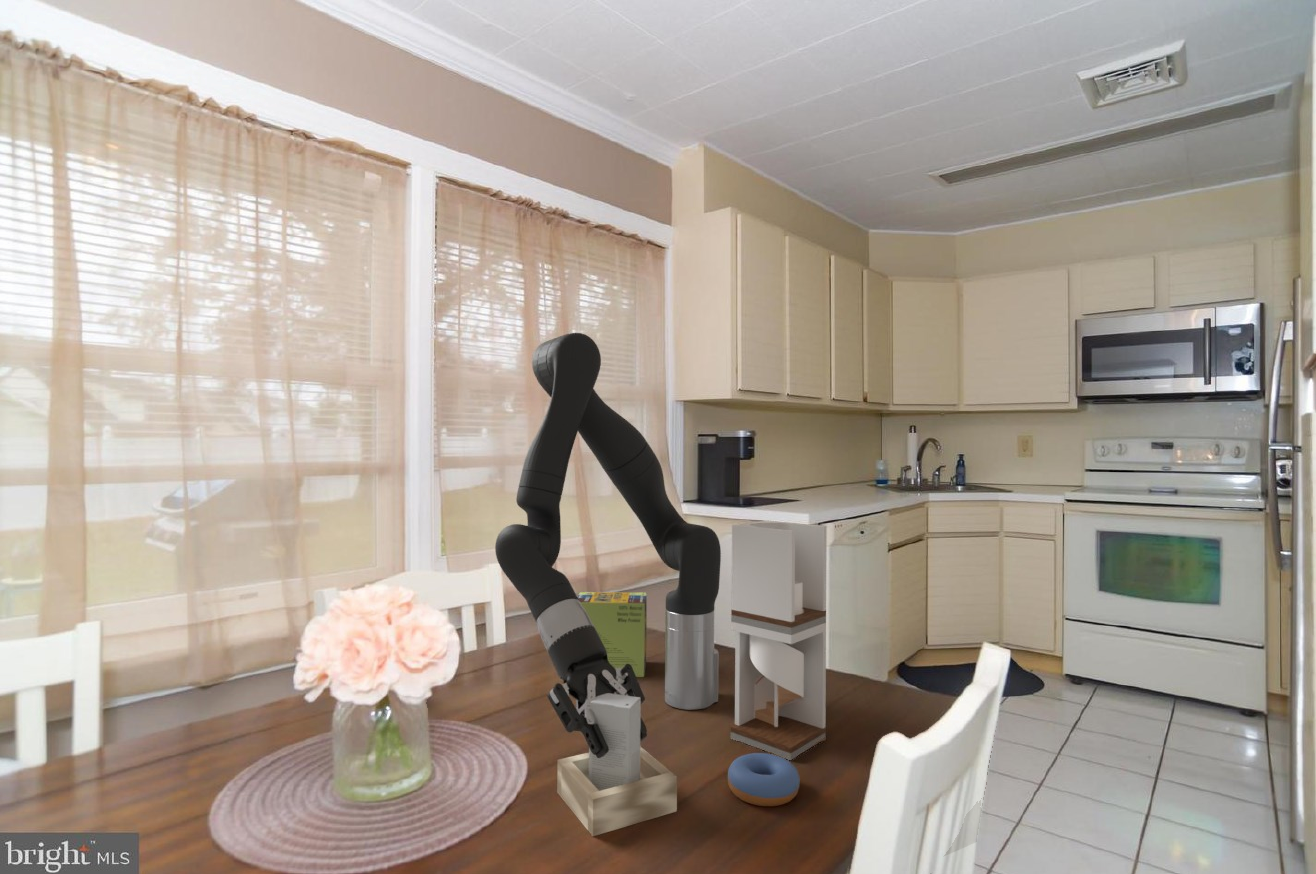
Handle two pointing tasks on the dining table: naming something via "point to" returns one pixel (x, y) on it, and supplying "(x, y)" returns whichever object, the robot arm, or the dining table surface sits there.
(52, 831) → the dining table surface
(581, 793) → the frame
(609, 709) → the skincare box
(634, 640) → the protein box
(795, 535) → the white shelf tower
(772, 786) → the doughnut
